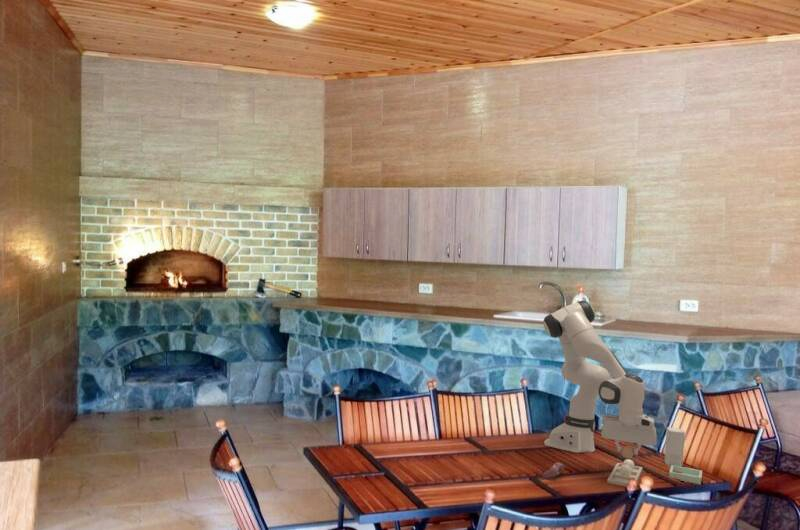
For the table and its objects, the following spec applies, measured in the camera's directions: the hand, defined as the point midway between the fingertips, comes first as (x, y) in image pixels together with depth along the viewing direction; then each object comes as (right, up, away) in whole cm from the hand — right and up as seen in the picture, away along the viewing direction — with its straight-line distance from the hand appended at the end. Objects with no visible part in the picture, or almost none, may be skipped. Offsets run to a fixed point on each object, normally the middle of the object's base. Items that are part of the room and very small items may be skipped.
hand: (627, 453), depth 289 cm
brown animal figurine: (-28, -10, +3) cm, 30 cm away
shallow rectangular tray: (+2, -12, +8) cm, 15 cm away
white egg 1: (+5, -11, +17) cm, 21 cm away
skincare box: (+30, -14, +34) cm, 47 cm away
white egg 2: (+2, -11, +8) cm, 14 cm away
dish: (+28, -14, +15) cm, 35 cm away
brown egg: (0, -2, 0) cm, 2 cm away
